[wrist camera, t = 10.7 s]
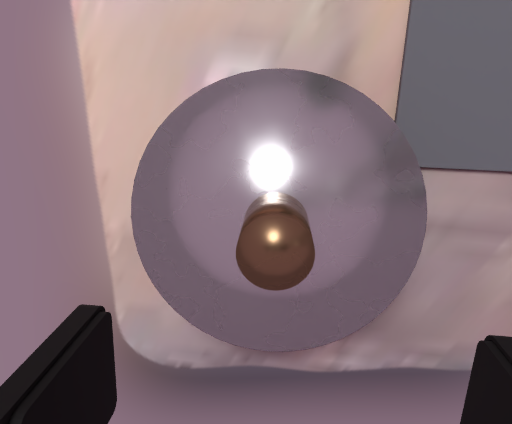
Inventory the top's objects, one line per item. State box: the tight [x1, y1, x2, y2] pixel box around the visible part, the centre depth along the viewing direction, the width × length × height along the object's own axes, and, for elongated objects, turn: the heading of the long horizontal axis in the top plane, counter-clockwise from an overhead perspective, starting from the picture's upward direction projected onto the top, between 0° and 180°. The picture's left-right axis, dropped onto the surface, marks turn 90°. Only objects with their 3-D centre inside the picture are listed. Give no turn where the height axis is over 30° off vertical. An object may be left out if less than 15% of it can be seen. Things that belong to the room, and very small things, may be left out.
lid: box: [131, 69, 427, 352], centre depth 21 cm, size 16×16×5 cm
